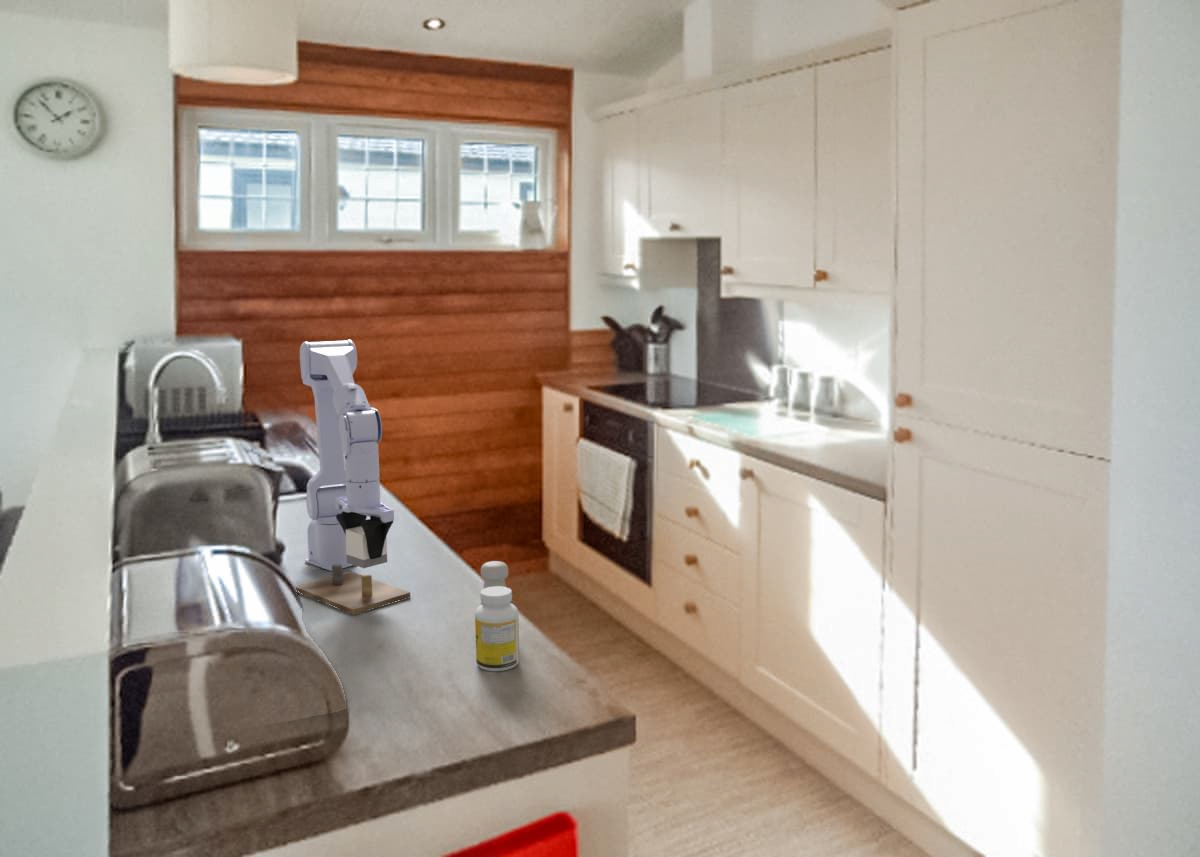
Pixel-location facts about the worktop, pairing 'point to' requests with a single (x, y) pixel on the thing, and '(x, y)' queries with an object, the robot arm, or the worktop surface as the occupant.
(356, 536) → the sleeve
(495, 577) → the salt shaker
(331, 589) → the pin board
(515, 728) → the worktop surface
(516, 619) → the pill bottle
